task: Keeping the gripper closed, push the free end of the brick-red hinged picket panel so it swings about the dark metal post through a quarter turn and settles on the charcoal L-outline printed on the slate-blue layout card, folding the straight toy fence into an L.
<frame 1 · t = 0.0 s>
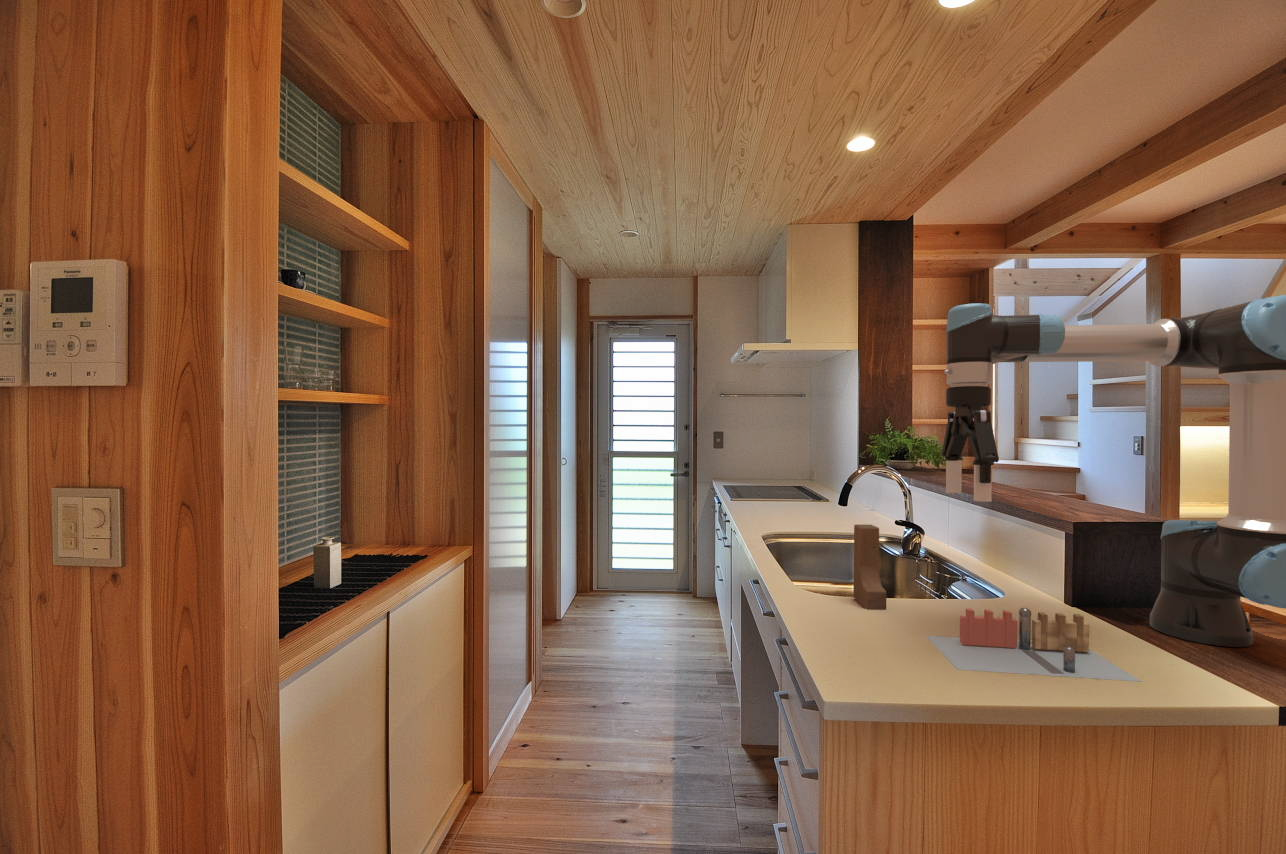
hand: (967, 496, 112), 28 cm above the countertop, fingers open, 13 cm apart
post: (1024, 648, 108), resting on layout card
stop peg: (1069, 670, 98), resting on layout card
fence panel: (988, 627, 109), point 4 cm above the countertop, hinge at 0.0°
layout card: (1023, 658, 104), on the countertop
fence fixed: (1060, 650, 107), resting on layout card
wooden block: (869, 606, 135), on the countertop
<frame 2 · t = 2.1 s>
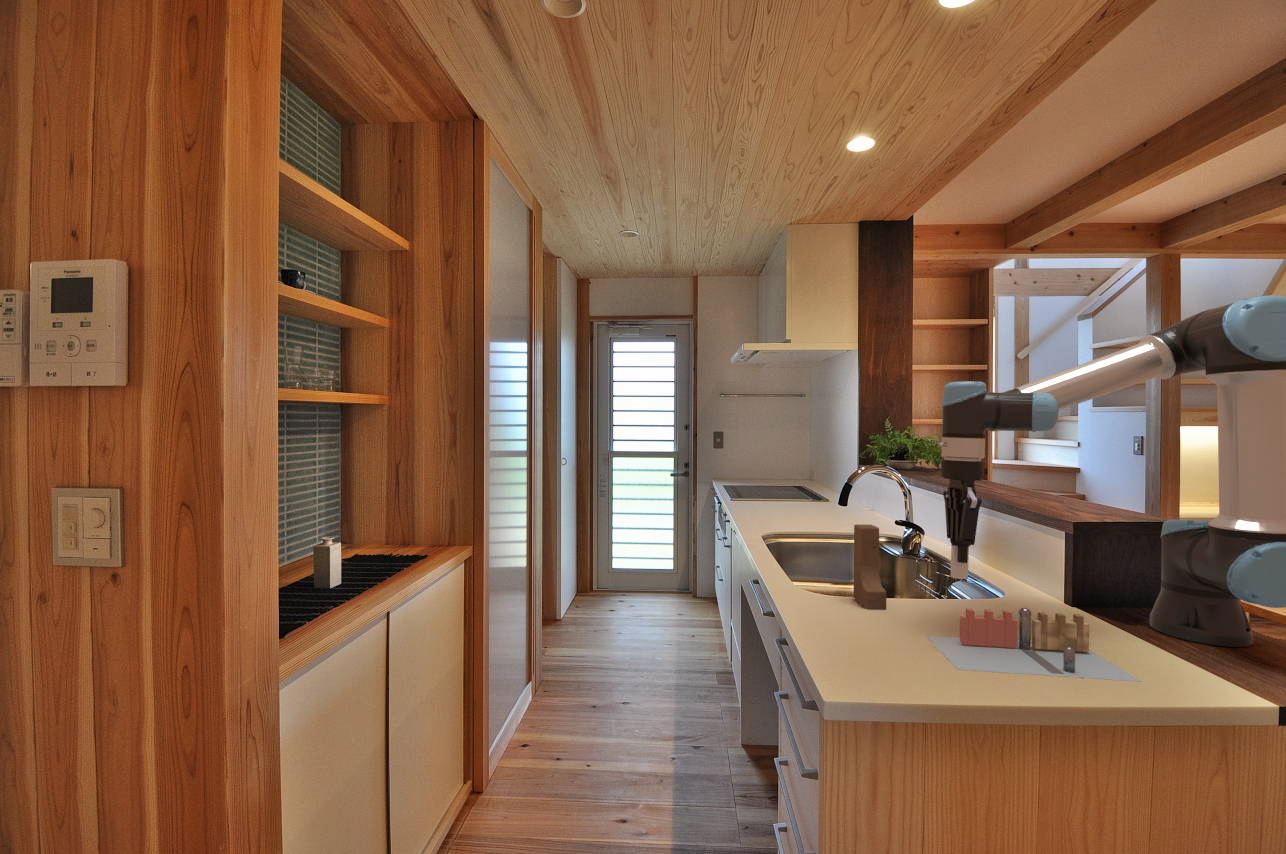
hand: (959, 577, 116), 11 cm above the countertop, fingers closed
nothing on the countertop moved.
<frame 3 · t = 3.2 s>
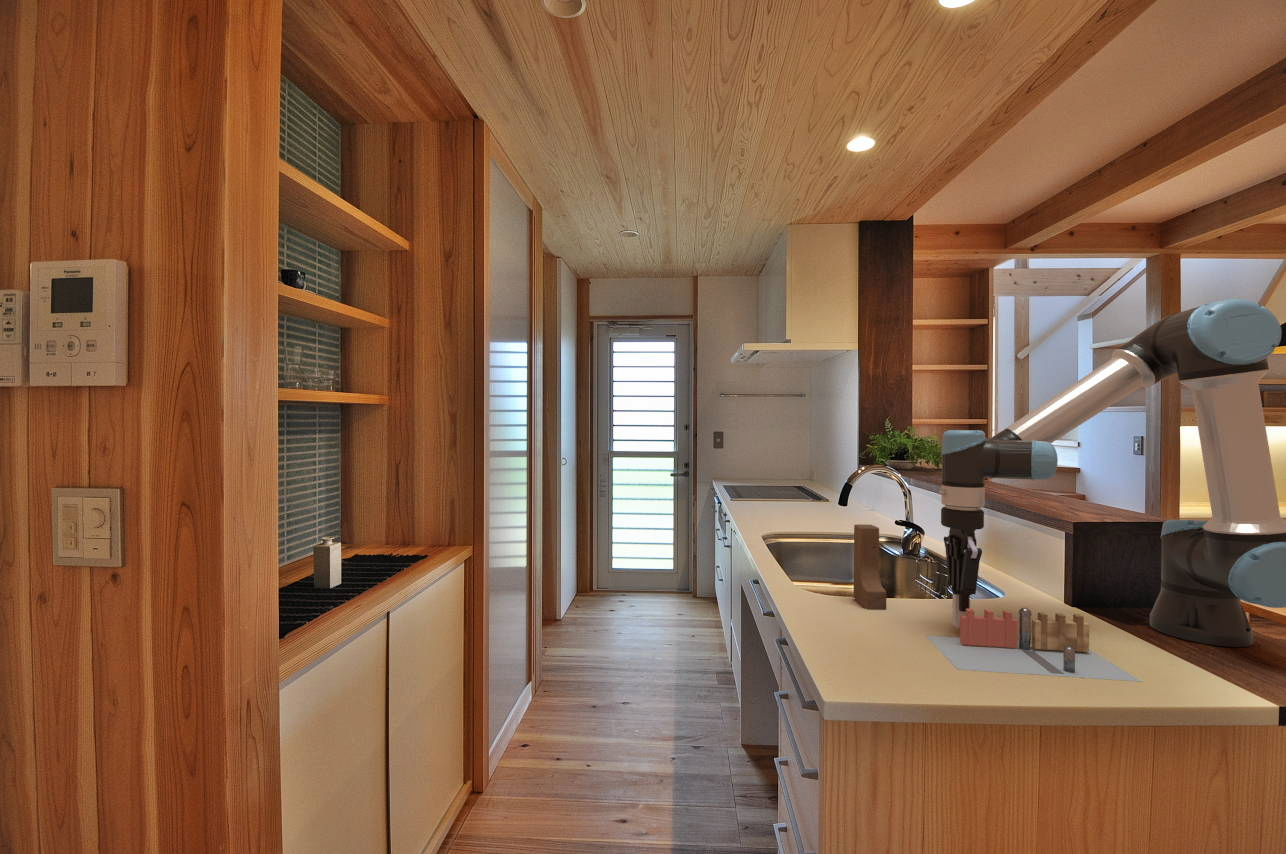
hand: (961, 625, 116), 2 cm above the countertop, fingers closed
nothing on the countertop moved.
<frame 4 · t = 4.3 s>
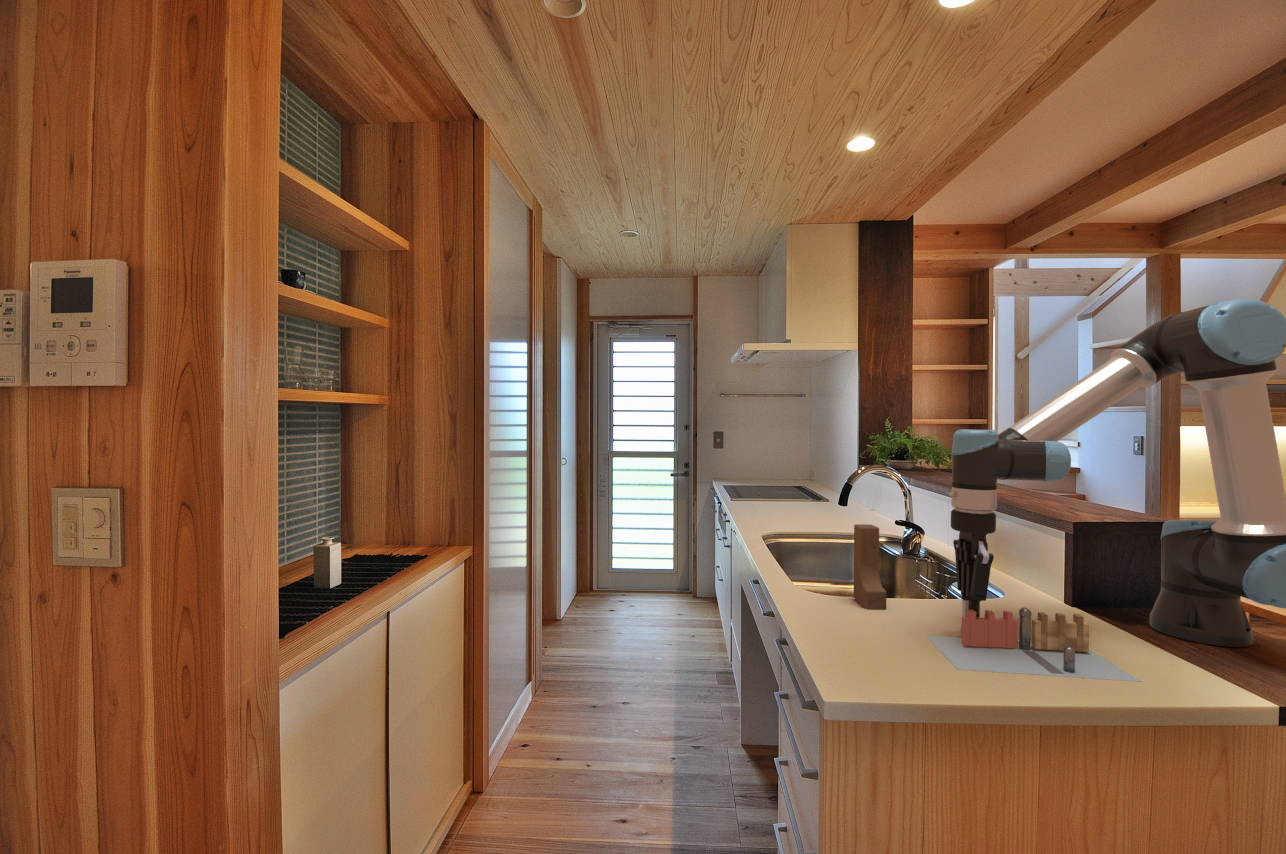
hand: (970, 632, 111), 2 cm above the countertop, fingers closed
fence panel: (989, 628, 108), point 4 cm above the countertop, hinge at 3.9°, touching gripper
everything else where it was.
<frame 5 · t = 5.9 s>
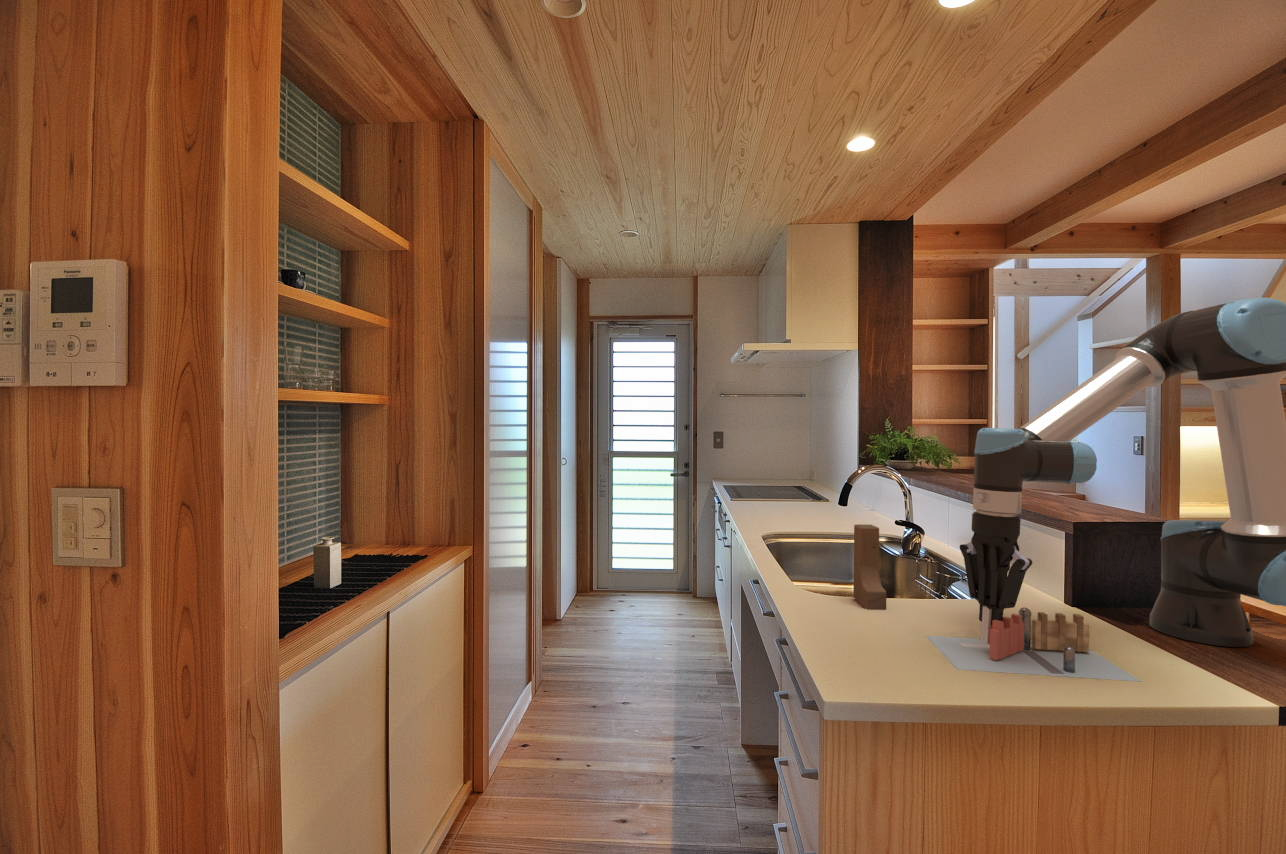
hand: (989, 642, 106), 2 cm above the countertop, fingers closed
fence panel: (1007, 635, 104), point 4 cm above the countertop, hinge at 40.3°, touching gripper
everything else where it was.
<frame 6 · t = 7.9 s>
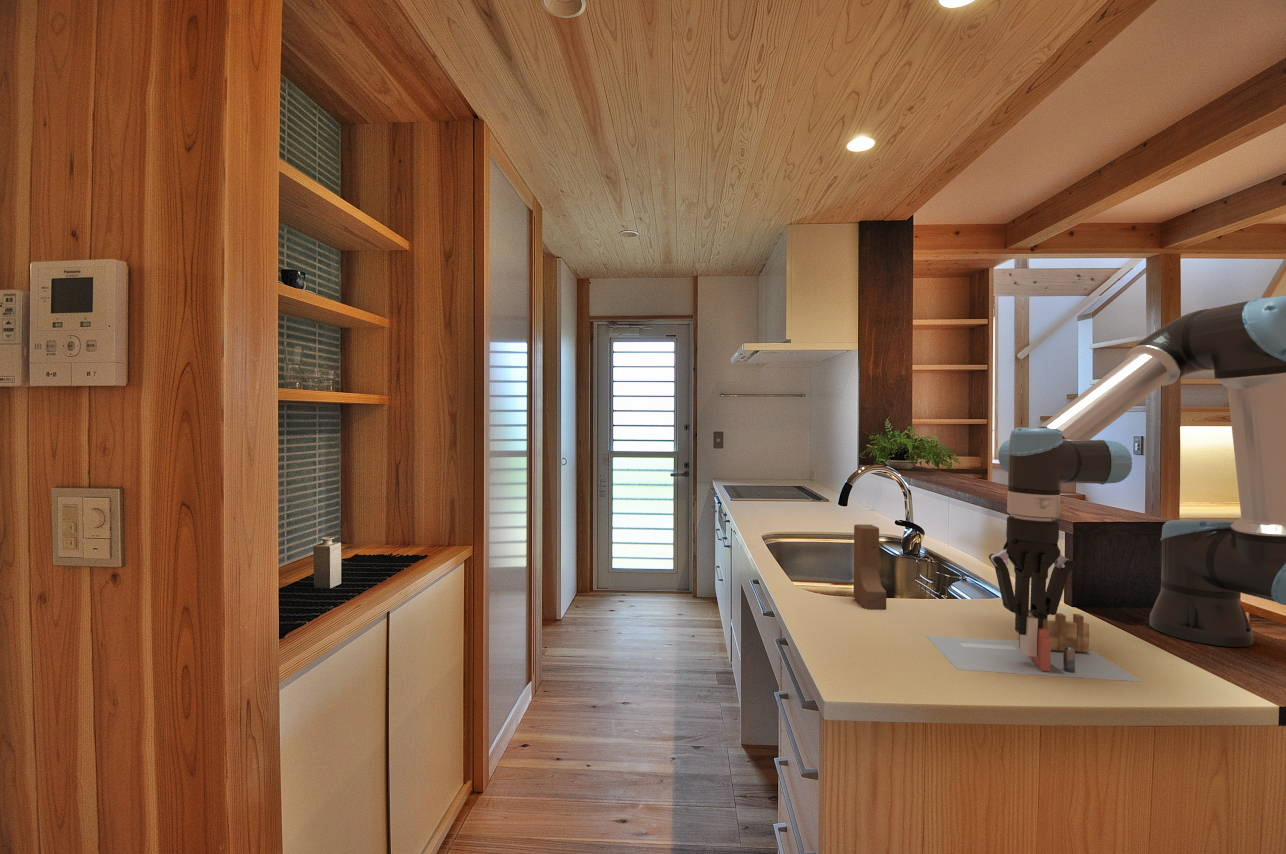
hand: (1027, 653, 100), 2 cm above the countertop, fingers closed
fence panel: (1036, 641, 102), point 4 cm above the countertop, hinge at 81.0°, touching gripper
everything else where it was.
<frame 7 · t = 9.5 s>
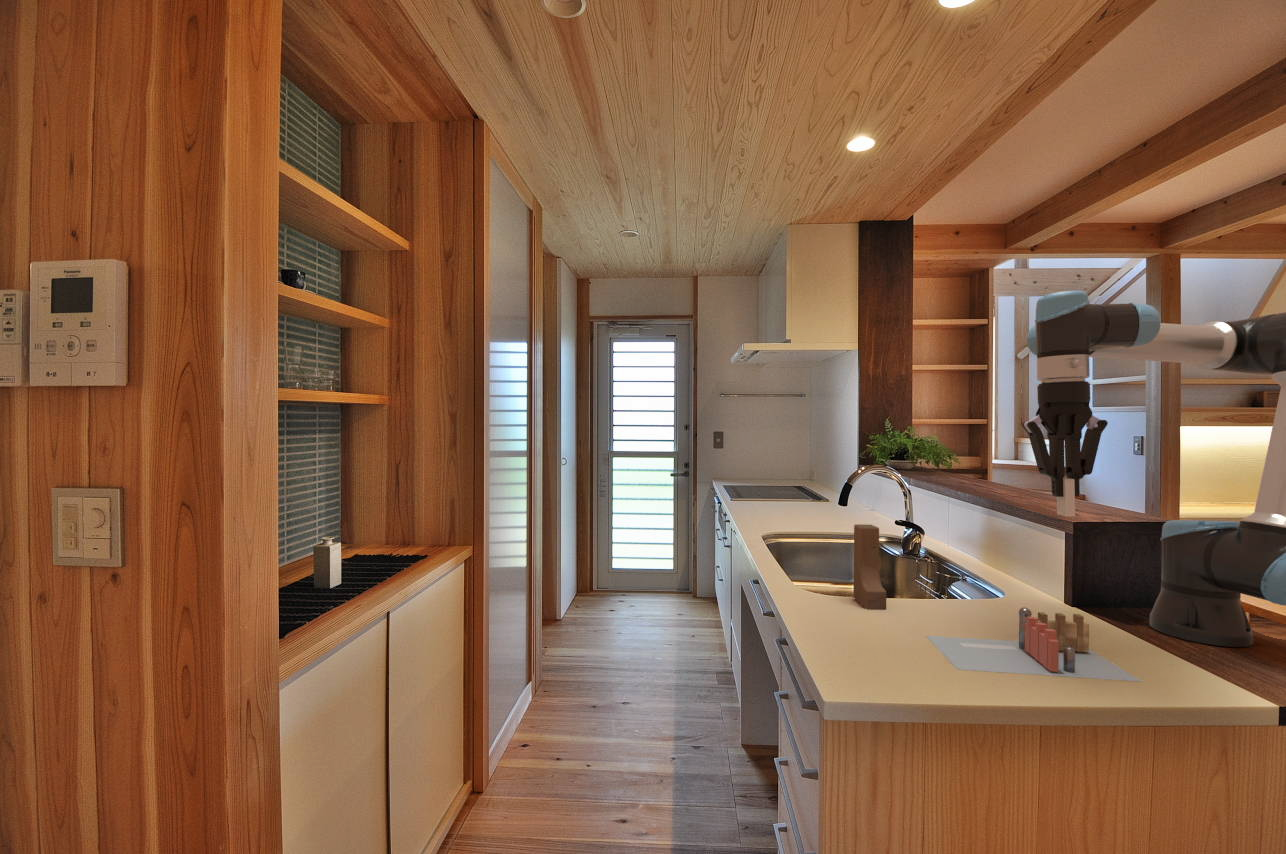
hand: (1066, 515, 102), 26 cm above the countertop, fingers closed
fence panel: (1041, 642, 102), point 4 cm above the countertop, hinge at 87.3°
everything else where it was.
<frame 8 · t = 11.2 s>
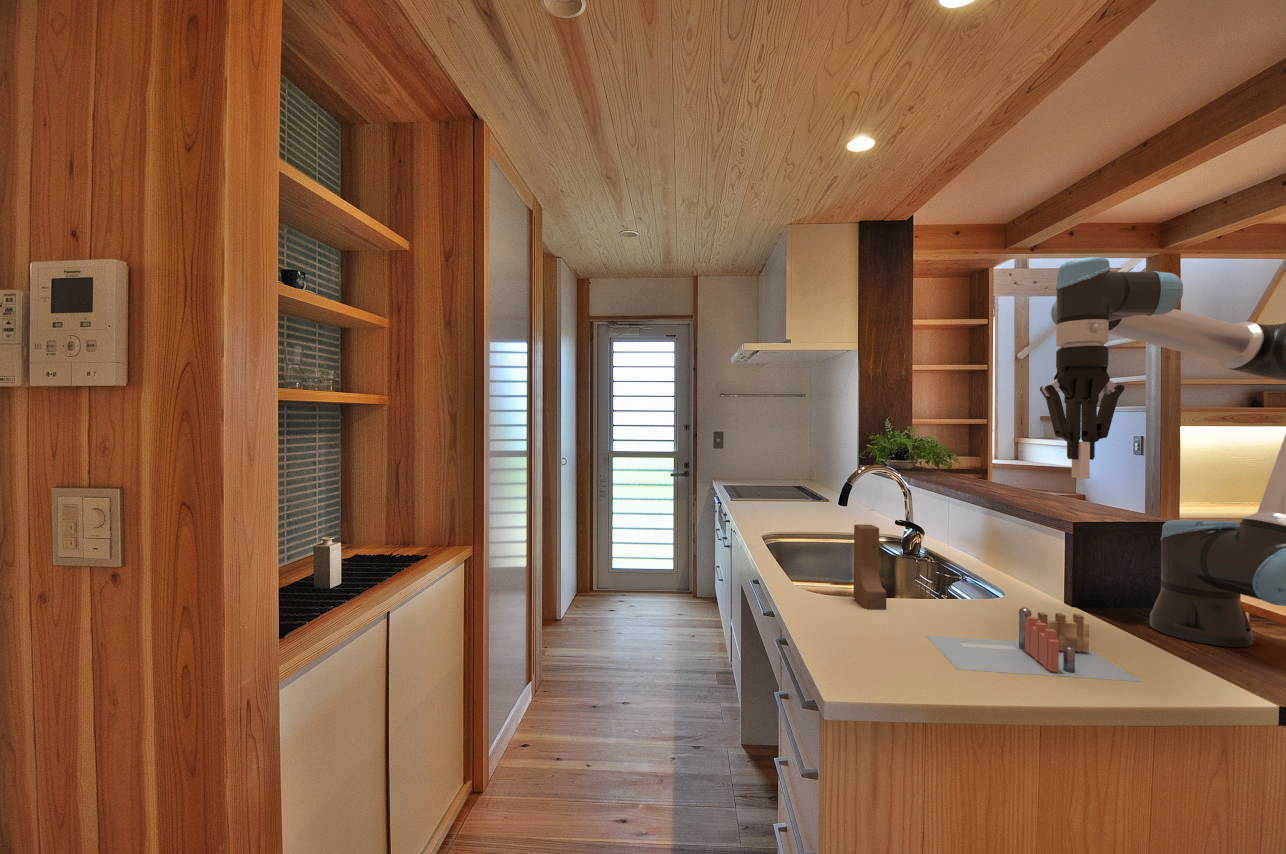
hand: (1080, 477, 104), 32 cm above the countertop, fingers closed
nothing on the countertop moved.
at the end: fence panel at +87° (first picture: +0°) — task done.
